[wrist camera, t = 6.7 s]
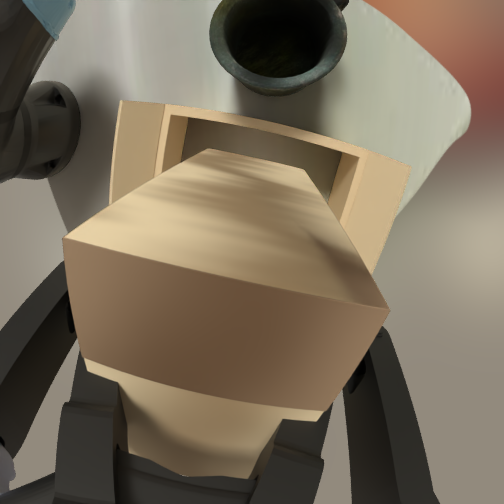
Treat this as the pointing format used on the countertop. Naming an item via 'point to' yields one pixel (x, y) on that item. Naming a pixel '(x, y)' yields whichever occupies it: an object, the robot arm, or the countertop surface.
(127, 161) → the carton
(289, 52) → the mug
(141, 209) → the block
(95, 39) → the countertop surface
